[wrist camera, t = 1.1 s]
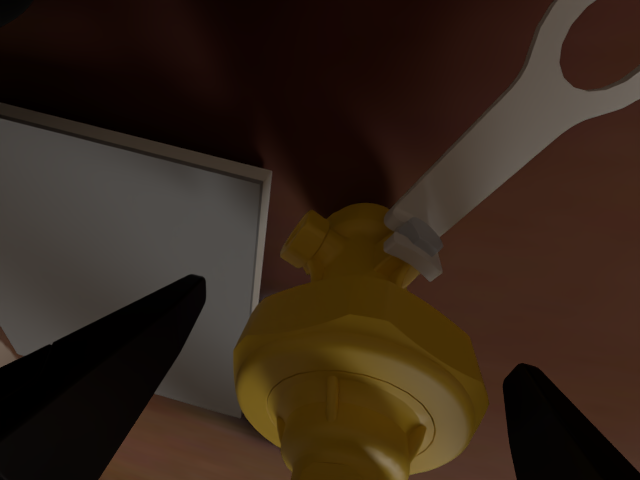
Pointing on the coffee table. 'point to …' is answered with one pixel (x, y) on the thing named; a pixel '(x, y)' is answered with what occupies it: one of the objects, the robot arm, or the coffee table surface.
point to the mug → (12, 9)
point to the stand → (127, 240)
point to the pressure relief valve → (398, 297)
